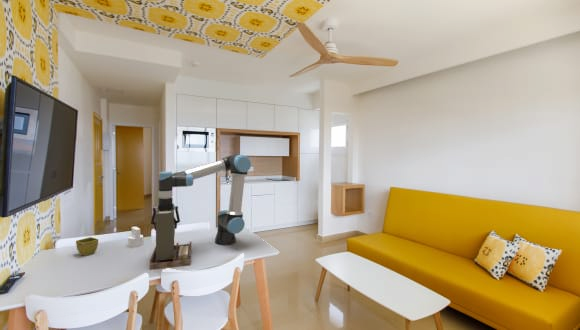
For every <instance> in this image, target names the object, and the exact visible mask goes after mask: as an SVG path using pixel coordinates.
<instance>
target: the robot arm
mask: <svg viewBox="0 0 580 330" xmlns="http://www.w3.org/2000/svg"><path fill="white" fill-rule="evenodd" d="M251 167H252V162H251V159H250V158H249V156H247V155H244V154H230V155H228V156H225V157H222V158H220V159H219V160H217V161H214V162H210V163H206V164H203V165H200V166H197V167H193V168H190V169H186V170H184V171H178V172H176V171H175V172H174V173H173V172H172V171H160V172H159V173H158V179H157V180H158V205H159V206H158V205H157V206H154V207H153V208H152V217H151V221H150V224H151V225H153V227H154V231H156V221H155V220H156V212H157V209H159V210H160V211H171V209H173V208H174V213H175V216H176V217H175V216H174V236H175V235H176V230H177V228H178V224H179V223H180V222H181V220H180V213H179V206H178V205H176V206H175V205H174V206H173V204H174V202H173V188H181V187H182V188H184V187H192V186H193V185H194V180H197V179H200V178H203V177H207V176H210V175H213V174H216V173H219V172H227V171H230V176H231V185H230V196H229V204H228V209H227V210H225V209H224V210H220V211H218V212H217V232H216V235H215V238H214V244H217V245H221V246H223V245H224V246H227V245H228V246H229V245H232V244H235V243H236V241H237V238H236V235H237V234H240V233H241V232H242V231H243V230H244V228H245V219H243V218H244V217H243V216H244V213H243V212H242V204H243V196H244V195H243V194H244V186H245V180H246V179H245V178H246V176H248V171H250V169H251Z"/></svg>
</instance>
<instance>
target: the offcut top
mask: <svg viewBox="0 0 580 330" xmlns="http://www.w3.org/2000/svg"><path fill="white" fill-rule="evenodd" d="M188 247H189V245H187V246H180V250H178V255H177V260H178V259H180V258H188V259H189V254H188Z"/></svg>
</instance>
